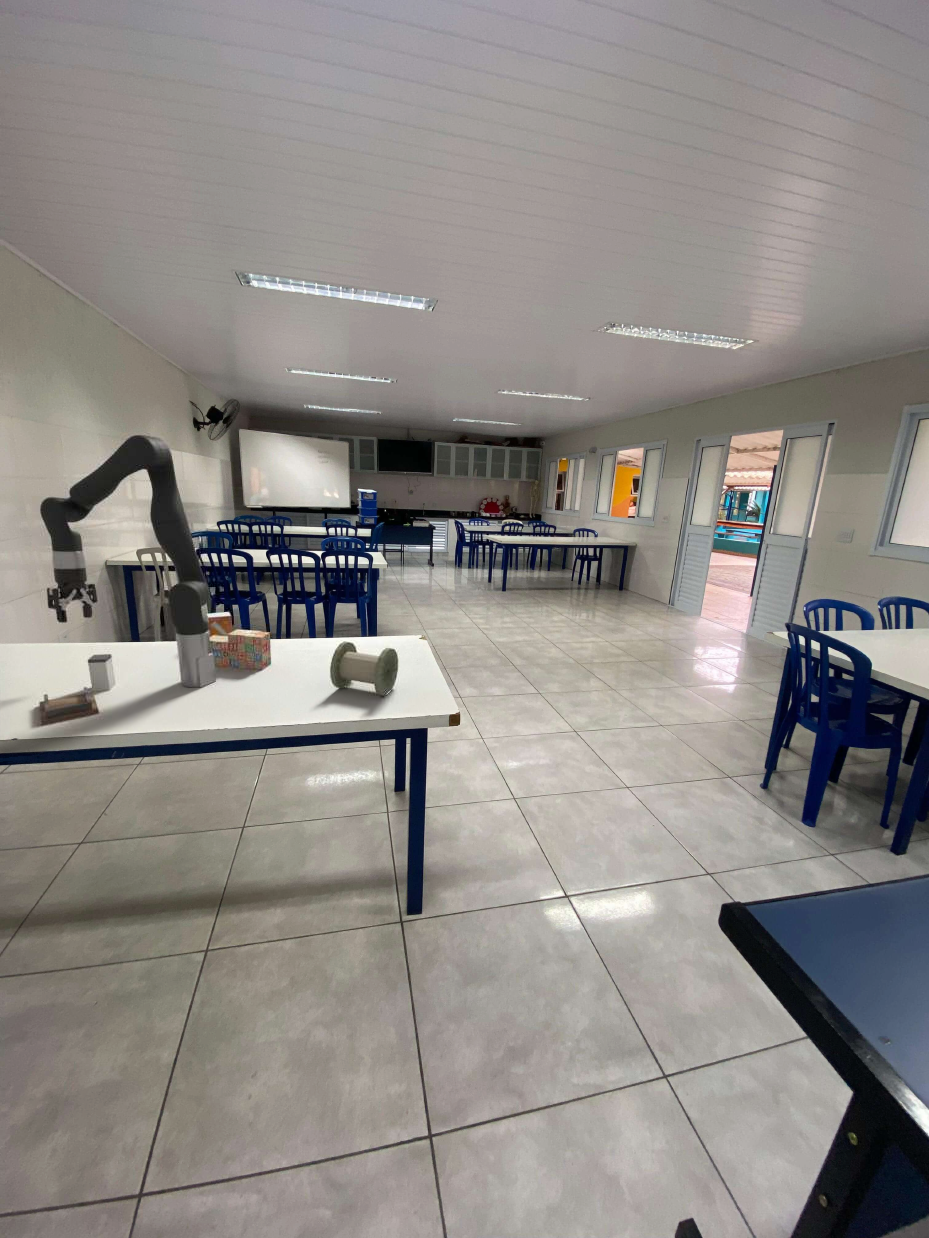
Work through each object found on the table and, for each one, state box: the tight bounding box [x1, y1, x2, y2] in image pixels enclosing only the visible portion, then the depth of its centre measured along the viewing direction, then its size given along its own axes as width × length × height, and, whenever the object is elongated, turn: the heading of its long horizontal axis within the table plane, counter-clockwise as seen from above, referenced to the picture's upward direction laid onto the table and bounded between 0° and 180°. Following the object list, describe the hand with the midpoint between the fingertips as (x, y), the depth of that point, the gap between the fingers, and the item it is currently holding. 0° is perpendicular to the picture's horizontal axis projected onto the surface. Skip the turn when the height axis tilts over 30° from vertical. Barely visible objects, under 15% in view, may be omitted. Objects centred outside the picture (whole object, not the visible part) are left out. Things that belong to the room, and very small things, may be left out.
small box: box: [205, 611, 233, 637], centre depth 188 cm, size 8×6×13 cm
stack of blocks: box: [210, 629, 272, 671], centre depth 171 cm, size 21×6×12 cm, turn 84°
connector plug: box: [87, 653, 116, 692], centre depth 147 cm, size 4×4×10 cm
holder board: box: [38, 686, 100, 726], centre depth 133 cm, size 14×12×3 cm
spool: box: [329, 641, 399, 697], centre depth 156 cm, size 16×15×15 cm
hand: (75, 619), depth 147 cm, fingers open, 8 cm apart
